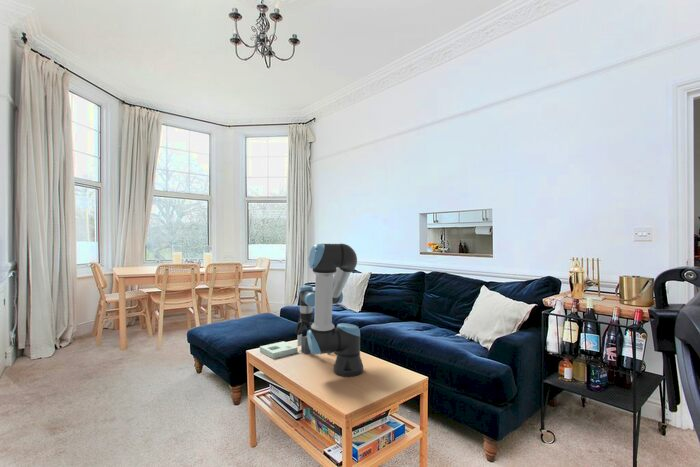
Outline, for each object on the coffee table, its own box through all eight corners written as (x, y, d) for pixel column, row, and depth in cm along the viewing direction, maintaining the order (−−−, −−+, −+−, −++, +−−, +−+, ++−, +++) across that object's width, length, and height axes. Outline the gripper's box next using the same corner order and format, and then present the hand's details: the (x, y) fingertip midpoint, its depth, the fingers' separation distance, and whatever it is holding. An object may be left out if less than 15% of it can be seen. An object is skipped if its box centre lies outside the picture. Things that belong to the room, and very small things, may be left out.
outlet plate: (297, 352, 207) (297, 347, 207) (273, 358, 196) (273, 353, 197) (283, 346, 219) (283, 341, 219) (259, 351, 209) (259, 346, 209)
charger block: (310, 352, 207) (310, 336, 207) (305, 353, 205) (305, 338, 205) (307, 350, 210) (307, 335, 210) (301, 352, 208) (301, 336, 208)
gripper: (324, 314, 201) (324, 352, 201) (299, 308, 219) (299, 342, 219) (313, 316, 196) (313, 355, 196) (289, 309, 215) (289, 344, 214)
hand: (306, 348), depth 207 cm, fingers open, 13 cm apart
